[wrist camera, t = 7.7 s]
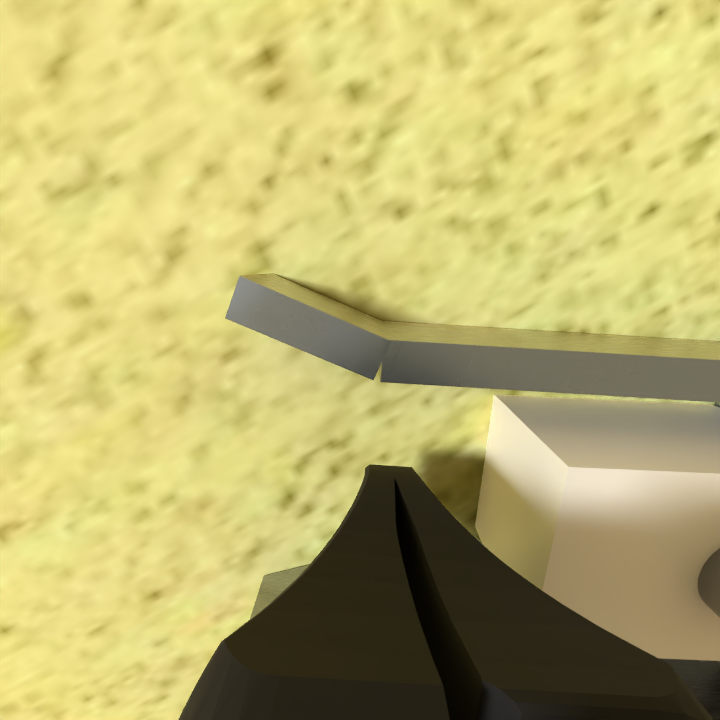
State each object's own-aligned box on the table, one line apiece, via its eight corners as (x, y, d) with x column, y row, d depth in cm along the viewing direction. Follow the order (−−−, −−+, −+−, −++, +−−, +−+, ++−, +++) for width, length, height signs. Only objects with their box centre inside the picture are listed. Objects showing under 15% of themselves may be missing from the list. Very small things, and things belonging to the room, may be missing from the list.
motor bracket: (650, 691, 15) (849, 984, 9) (264, 671, 15) (196, 953, 9) (787, 305, 11) (1321, 353, 5) (261, 272, 11) (131, 280, 5)
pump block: (667, 532, 13) (889, 726, 8) (473, 523, 13) (554, 712, 8) (706, 402, 12) (1009, 522, 6) (492, 392, 12) (606, 504, 6)
